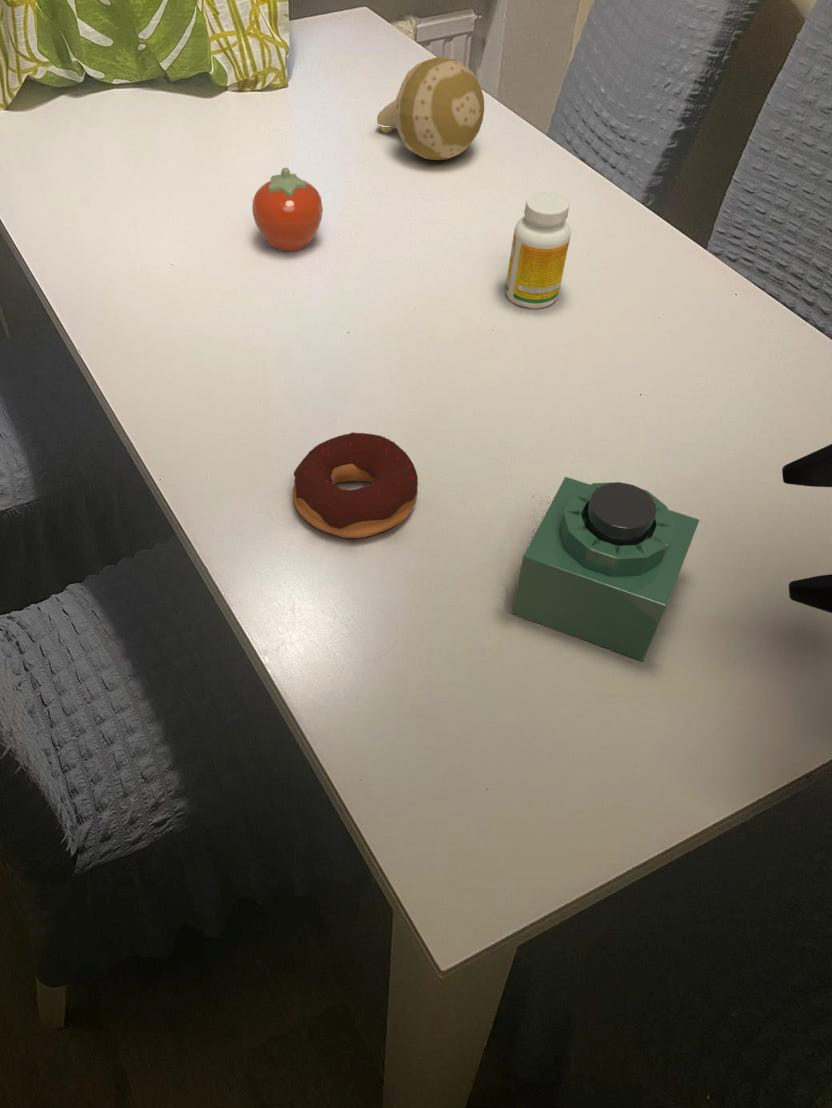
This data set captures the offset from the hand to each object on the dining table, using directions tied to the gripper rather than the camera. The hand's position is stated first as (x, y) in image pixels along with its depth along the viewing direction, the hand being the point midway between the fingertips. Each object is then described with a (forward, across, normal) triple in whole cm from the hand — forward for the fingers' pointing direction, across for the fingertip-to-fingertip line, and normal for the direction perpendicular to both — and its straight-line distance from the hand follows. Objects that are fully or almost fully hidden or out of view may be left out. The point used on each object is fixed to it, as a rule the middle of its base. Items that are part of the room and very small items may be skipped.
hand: (785, 529), depth 51 cm
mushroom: (+38, -75, +2) cm, 84 cm away
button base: (+14, -7, +12) cm, 19 cm away
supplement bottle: (+22, -46, +8) cm, 52 cm away
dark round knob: (+11, -7, +5) cm, 14 cm away
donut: (+32, -13, +4) cm, 35 cm away
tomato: (+47, -50, -2) cm, 69 cm away
